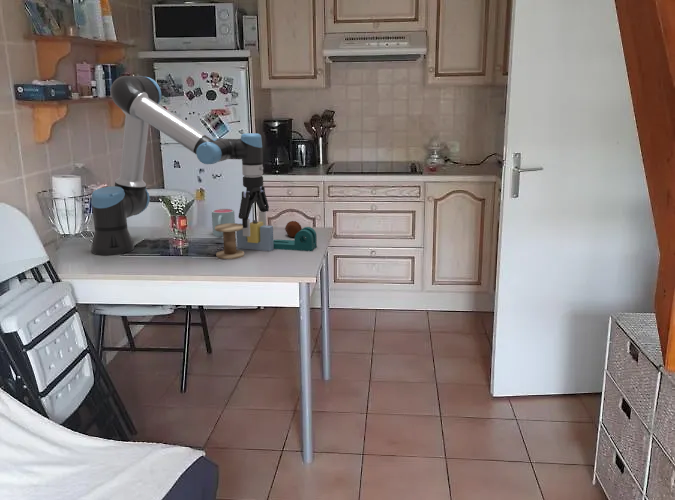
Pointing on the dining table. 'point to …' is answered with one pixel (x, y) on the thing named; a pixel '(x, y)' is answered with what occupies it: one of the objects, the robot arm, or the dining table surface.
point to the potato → (292, 228)
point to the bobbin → (229, 241)
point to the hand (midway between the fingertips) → (254, 232)
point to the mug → (222, 219)
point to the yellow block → (254, 232)
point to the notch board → (264, 244)
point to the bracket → (299, 241)
